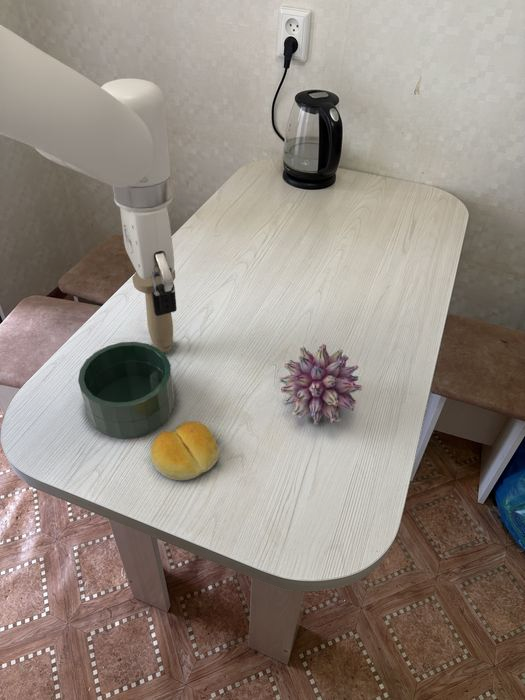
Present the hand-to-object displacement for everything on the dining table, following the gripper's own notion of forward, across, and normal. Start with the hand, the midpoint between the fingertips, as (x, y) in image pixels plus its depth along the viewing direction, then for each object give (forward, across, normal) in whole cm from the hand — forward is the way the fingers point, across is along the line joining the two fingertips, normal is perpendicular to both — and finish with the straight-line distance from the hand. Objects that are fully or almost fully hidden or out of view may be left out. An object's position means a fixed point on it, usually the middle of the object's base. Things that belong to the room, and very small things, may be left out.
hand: (155, 293), depth 77 cm
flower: (+12, +22, +17) cm, 30 cm away
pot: (+12, +10, -8) cm, 17 cm away
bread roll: (+12, +22, -4) cm, 25 cm away
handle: (+12, 0, 0) cm, 12 cm away
